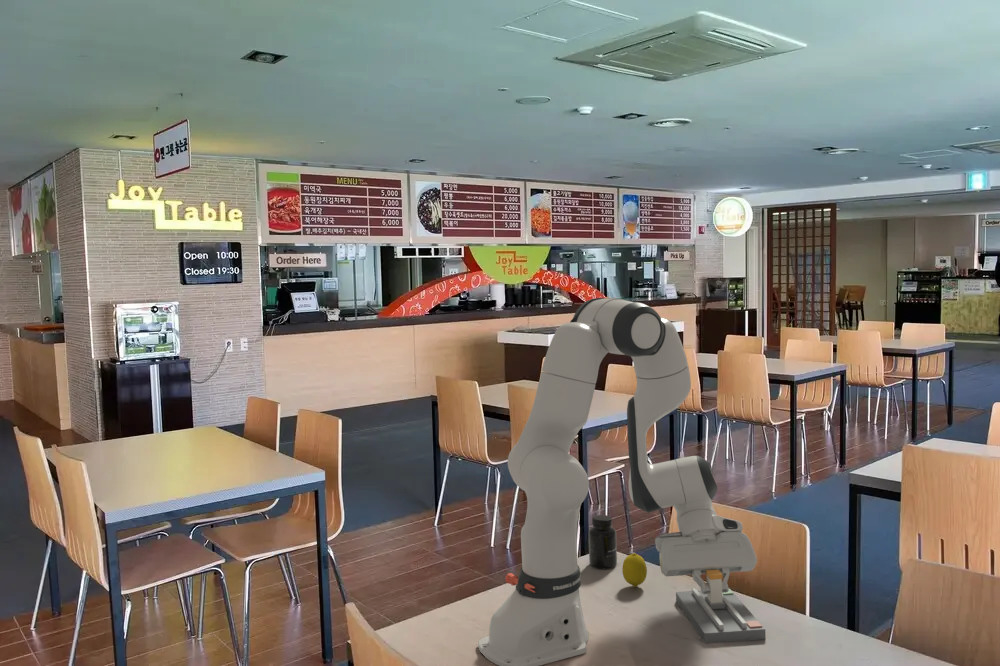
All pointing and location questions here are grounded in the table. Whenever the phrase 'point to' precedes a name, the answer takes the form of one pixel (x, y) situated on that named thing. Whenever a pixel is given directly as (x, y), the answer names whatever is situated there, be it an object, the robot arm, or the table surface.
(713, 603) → the breaker lever
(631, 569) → the lemon
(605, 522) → the supplement bottle
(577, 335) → the robot arm
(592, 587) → the table surface
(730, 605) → the switch panel
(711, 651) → the table surface
